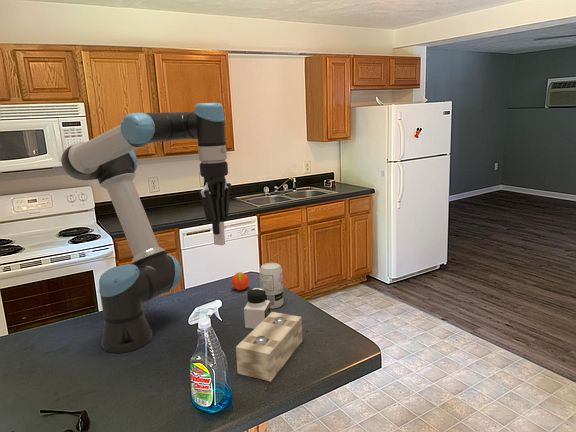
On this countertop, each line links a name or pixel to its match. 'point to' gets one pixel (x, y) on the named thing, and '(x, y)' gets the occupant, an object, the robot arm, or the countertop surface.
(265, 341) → the pin
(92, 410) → the countertop surface
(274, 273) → the supplement can
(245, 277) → the tomato
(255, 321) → the medicine bottle
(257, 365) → the pin block
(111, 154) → the robot arm
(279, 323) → the pin
